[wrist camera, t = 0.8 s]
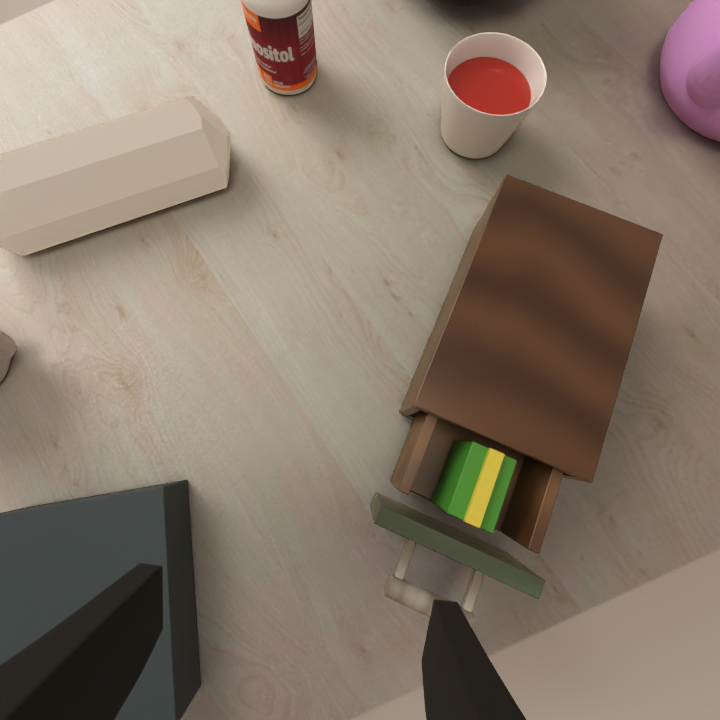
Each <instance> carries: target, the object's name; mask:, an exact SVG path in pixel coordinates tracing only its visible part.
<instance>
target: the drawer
mask: <svg viewBox="0 0 720 720" xmlns="http://www.w3.org/2000/svg"><path fill="white" fill-rule="evenodd" d="M453 441H473V442H476V443H478V444H481V445H483V446H485V447H487V448H492V449H494V450H497V451H499V452H501V453H504V454H505V455H506V456H508V457H510V458H513V459H515V460H516V461H517V462H516V465H515V469H514V472H513V475H512V478H511V481H510V484H509V487H508V490H507V493H506V496H505V499H504V502H503V505H502V508H501V511H500V514H499V517H498V520H497V523H496V526H495V529H496V530H498V531H501V532H502V533H504V534H505V535H507V536H508V537H510V538H512V539H513V540H515V541H516V542H518V543H519V544H521V545H522V546H524V547H526V548H527V549H529V550H531V551H533V552H535V553H538V554H539V553H540V549H541V546H542V543H543V539H544V536H545V533H546V529H547V526H548V523H549V519H550V516H551V513H552V510H553V506H554V503H555V500H556V496H557V493H558V490H559V486H560V483H561V480H562V476H563V473H564V472H561V471H559V470H557V469H555V468H552V467H550V466H548V465H545V464H543V463H541V462H539V461H536V460H534V459H532V458H529V457H527V456H525V455H523V454H520V453H518V452H516V451H513V450H511V449H509V448H506V447H504V446H502V445H500V444H497V443H495V442H493V441H490V440H488V439H486V438H484V437H481V436H479V435H477V434H474V433H472V432H470V431H468V430H465V429H463V428H461V427H458V426H456V425H454V424H451V423H449V422H447V421H445V420H442V419H440V418H438V417H435V416H433V415H431V414H429V413H426V412H424V411H422V410H421V411H419V412H417V414H416V417H415V419H414V422H413V424H412V427H411V429H410V432H409V434H408V437H407V439H406V442H405V444H404V447H403V449H402V452H401V454H400V457H399V459H398V462H397V464H396V467H395V469H394V472H393V474H392V477H391V479H390V481H391V482H392V483H393V485H394V486H395V487H396V488H397V489H398V490H399V491H401V492H403V493H405V494H407V495H409V493H410V491H412V492H414V493H417V494H419V495H421V496H423V497H425V498H428V499H430V500H431V499H432V496H433V493H434V491H435V488H436V485H437V483H438V480H439V477H440V475H441V472H442V469H443V467H444V464H445V461H446V458H447V456H448V453H449V450H450V448H451V445H452V442H453ZM370 509H371V513H372V517H373V521H374V523H375V524H377V525H379V526H381V527H383V528H386V529H388V530H390V531H392V532H394V533H396V534H399V535H401V536H403V537H405V538H407V540H406V543H405V545H404V548H403V551H402V553H401V556H400V559H399V561H398V564H397V567H396V569H395V572H394V575H393V574H390V575H389V577H388V579H387V581H386V584H385V588H384V596H386V597H388V598H390V599H392V600H394V601H396V602H398V603H401V604H403V605H405V606H407V607H409V608H411V609H413V610H415V611H417V612H420V613H422V614H424V615H426V616H428V617H430V616H431V611H432V605H433V600H434V599H435V600H443V601H449V600H447V599H444V598H442V597H440V596H438V595H436V594H434V593H432V592H430V591H427V590H425V589H423V588H421V587H419V586H417V585H415V584H413V583H410V582H408V581H406V580H404V579H403V578H404V575H405V572H406V570H407V567H408V564H409V562H410V559H411V556H412V554H413V551H414V548H415V546H416V543H418V544H420V545H422V546H425V547H427V548H429V549H431V550H433V551H435V552H438V553H440V554H442V555H444V556H446V557H448V558H451V559H453V560H455V561H457V562H459V563H461V564H464V565H466V566H468V567H470V568H472V569H473V571H472V574H471V577H470V580H469V583H468V586H467V589H466V592H465V595H464V598H463V601H462V604H461V606H462V607H461V606H460V607H461V609H462V611H463V613H464V615H465V617H466V618H467V620H468V622H469V624H470V626H471V628H473V624H474V615H473V612H472V609H473V606H474V603H475V600H476V597H477V594H478V591H479V588H480V585H481V582H482V579H483V576H484V574H485V575H487V576H489V577H492V578H494V579H496V580H498V581H500V582H502V583H505V584H507V585H509V586H511V587H513V588H515V589H518V590H520V591H522V592H524V593H526V594H528V595H531V596H533V597H535V598H537V599H540V595H541V592H542V588H543V585H544V582H545V580H544V579H542V578H541V577H540V576H538V575H537V574H536V573H534V572H533V571H532V570H530V569H529V568H528V567H526V566H525V565H524V564H522V563H521V562H519V561H518V560H517V559H515V558H514V557H513V556H511V555H510V554H509V553H507V552H506V551H504V550H501V549H499V548H497V547H495V546H493V545H490V544H488V543H486V542H484V541H482V540H479V539H477V538H475V537H473V536H471V535H468V534H466V533H464V532H462V531H460V530H457V529H455V528H453V527H451V526H449V525H446V524H444V523H442V522H440V521H438V520H436V519H433V518H431V517H429V516H427V515H425V514H422V513H420V512H418V511H416V510H414V509H411V508H409V507H407V506H405V505H403V504H400V503H398V502H396V501H394V500H392V499H389V498H387V497H385V496H383V495H381V494H379V493H376V492H375V494H374V497H373V499H372V502H371V504H370Z"/></svg>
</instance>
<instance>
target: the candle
mask: <svg viewBox="0 0 720 720" xmlns="http://www.w3.org/2000/svg"><path fill="white" fill-rule="evenodd" d="M546 83H547V74H546V69H545V66H544V63H543V61H542V59H541V58H540V56H539V55H538V54H537V52H536V51H535V50H534V49H533V48H532V47H531V46H529V45H528V44H527V43H525V42H524V41H522V40H520V39H518V38H516V37H514V36H511V35H507V34H503V33H497V32H485V33H478V34H474V35H471V36H469V37H467V38H465V39H463V40H461V41H460V42H459V43H457V44H456V45H455V46H454V47H453V48H452V50H451V51H450V53H449V54H448V56H447V59H446V62H445V68H444V81H443V94H442V107H441V123H440V129H441V135H442V138H443V140H444V142H445V143H446V145H447V146H448V147H449V148H450V149H451V150H452V151H454V152H455V153H457V154H459V155H461V156H463V157H467V158H474V159H477V158H484V157H488V156H490V155H492V154H494V153H495V152H497V151H498V150H499V149H500V148H501V147H502V146H503V145H504V143H505V142H506V141H507V140H508V139H509V137H510V136H511V135H512V134H513V132H514V131H515V130H516V129H517V127H518V126H519V125H520V124H521V122H522V121H523V120H524V118H525V117H526V116H527V115H528V113H529V112H530V111H531V110H532V108H533V107H534V106H535V105H536V103H537V102H538V101H539V99H540V98H541V96H542V95H543V93H544V90H545V87H546Z"/></svg>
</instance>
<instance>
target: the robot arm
mask: <svg viewBox="0 0 720 720" xmlns="http://www.w3.org/2000/svg"><path fill="white" fill-rule="evenodd" d="M162 630H163V566H160V565H152V564H144V563H139V564H138V565H137V566H135V567H134V568H132V569H131V570H130V571H128V572H127V573H126V574H124V575H123V576H122V577H120V578H119V579H118V580H116V581H115V582H114V583H112V584H111V585H110V586H108V587H107V588H106V589H104V590H103V591H102V592H101V593H99V594H98V595H97V596H95V597H94V598H93V599H91V600H90V601H89V602H87V603H86V604H85V605H83V606H82V607H81V608H79V609H78V610H77V611H75V612H74V613H73V614H71V615H70V616H69V617H67V618H66V619H64V620H63V621H62V622H60V623H59V624H58V625H56V626H55V627H54V628H52V629H51V630H50V631H48V632H47V633H45V634H44V635H43V636H41V637H40V638H39V639H37V640H36V641H34V642H33V643H32V644H30V645H29V646H27V647H26V648H24V649H23V650H21V651H20V652H19V653H17V654H16V655H14V656H13V657H11V658H10V659H9V660H7V661H6V662H4V663H3V664H1V665H0V720H114V719H115V718H116V716H117V714H118V713H119V711H120V709H121V707H122V706H123V704H124V702H125V701H126V699H127V697H128V696H129V694H130V692H131V691H132V689H133V687H134V686H135V684H136V682H137V680H138V679H139V677H140V675H141V673H142V671H143V669H144V667H145V665H146V663H147V661H148V659H149V657H150V655H151V653H152V651H153V649H154V647H155V644H156V642H157V640H158V638H159V636H160V634H161V632H162ZM422 672H423V687H424V699H425V711H426V718H427V720H526V719H525V717H524V716H523V714H522V712H521V711H520V709H519V708H518V706H517V704H516V703H515V701H514V699H513V698H512V696H511V695H510V693H509V691H508V690H507V688H506V686H505V685H504V683H503V682H502V680H501V678H500V677H499V675H498V673H497V672H496V670H495V668H494V666H493V665H492V663H491V662H490V660H489V658H488V656H487V654H486V653H485V651H484V649H483V647H482V646H481V644H480V642H479V640H478V639H477V637H476V635H475V633H474V631H473V629H472V628H471V626H470V624H469V622H468V620H467V618H466V617H465V615H464V613H463V611H462V609H461V607H460V606H459V604H458V603H457V602H452V601H443V600H435V599H434V600H433V605H432V611H431V616H430V621H429V626H428V631H427V636H426V641H425V646H424V651H423V656H422Z"/></svg>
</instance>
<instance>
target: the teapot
mask: <svg viewBox="0 0 720 720" xmlns="http://www.w3.org/2000/svg"><path fill="white" fill-rule="evenodd" d="M660 85H661V90H662V93H663V95H664V98H665V100H666V102H667V104H668V105H669V107H670V108H671V110H672V111H673V112H674V114H675V115H676V116H677V117H678V118H679V119H680V120H681V121H682V122H683V123H684V124H686V125H687V126H688V127H690V128H691V129H692V130H694V131H696V132H697V133H699V134H701V135H703V136H705V137H707V138H709V139H712V140H715V141H718V142H720V0H694V1H693V2H692V3H691V4H690V5H689V6H688V7H687V8H686V9H685V10H684V11H683V12H682V14H681V15H680V16H679V17H678V18H677V20H676V21H675V22H674V24H673V25H672V26H671V28H670V30H669V32H668V33H667V36H666V38H665V40H664V43H663V47H662V51H661V60H660Z"/></svg>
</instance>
